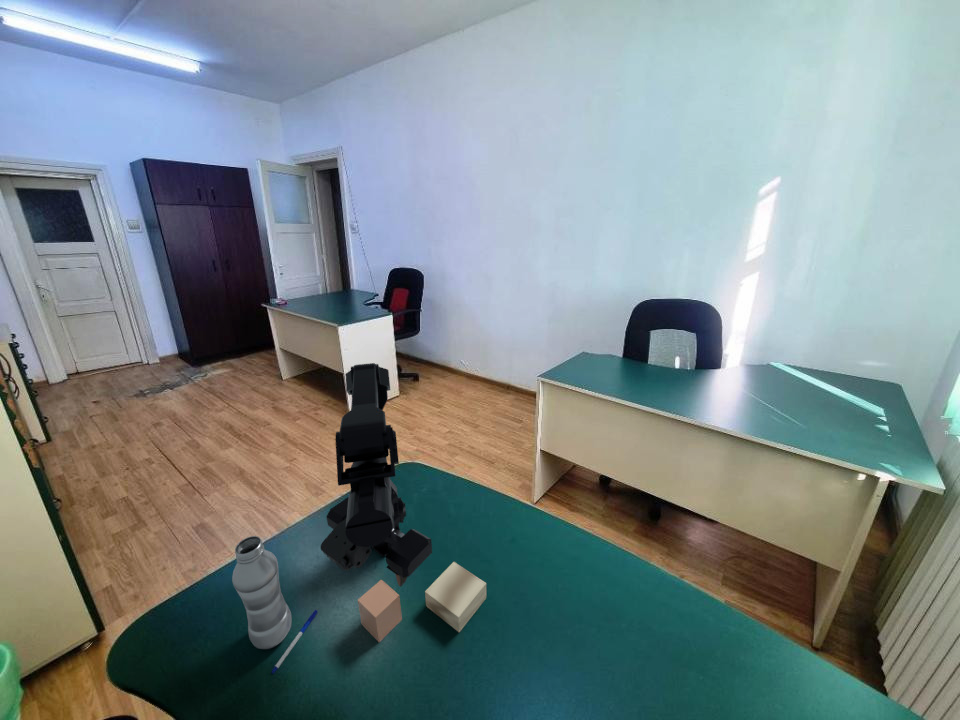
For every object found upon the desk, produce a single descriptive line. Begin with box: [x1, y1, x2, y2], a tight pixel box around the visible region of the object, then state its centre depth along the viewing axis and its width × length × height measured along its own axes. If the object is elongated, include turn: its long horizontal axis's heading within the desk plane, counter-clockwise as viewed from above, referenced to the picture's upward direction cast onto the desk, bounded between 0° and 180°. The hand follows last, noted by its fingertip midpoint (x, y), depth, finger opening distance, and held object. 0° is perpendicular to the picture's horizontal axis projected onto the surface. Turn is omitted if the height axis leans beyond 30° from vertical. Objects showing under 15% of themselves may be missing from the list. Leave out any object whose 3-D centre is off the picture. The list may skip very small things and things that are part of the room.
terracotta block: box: [357, 579, 403, 643], centre depth 65 cm, size 5×5×6 cm
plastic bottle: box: [231, 535, 292, 650], centre depth 61 cm, size 6×7×20 cm
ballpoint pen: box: [270, 609, 318, 674], centre depth 63 cm, size 10×1×1 cm, turn 166°
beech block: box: [424, 561, 487, 633], centre depth 69 cm, size 8×8×4 cm
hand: (382, 570), depth 62 cm, fingers open, 9 cm apart
